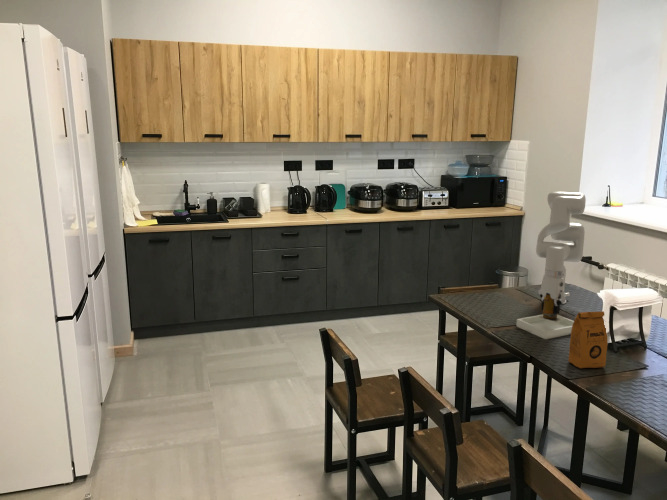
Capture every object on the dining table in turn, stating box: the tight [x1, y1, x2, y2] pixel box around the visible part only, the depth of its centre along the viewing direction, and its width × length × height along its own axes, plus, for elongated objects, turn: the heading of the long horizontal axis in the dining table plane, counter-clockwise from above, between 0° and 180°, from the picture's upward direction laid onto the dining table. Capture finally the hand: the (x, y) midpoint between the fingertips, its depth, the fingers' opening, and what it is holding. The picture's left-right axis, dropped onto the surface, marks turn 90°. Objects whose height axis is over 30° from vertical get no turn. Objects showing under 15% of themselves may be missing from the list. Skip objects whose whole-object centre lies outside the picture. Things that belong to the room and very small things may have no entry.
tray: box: [515, 313, 574, 340], centre depth 260 cm, size 22×18×4 cm
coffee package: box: [568, 311, 609, 369], centre depth 219 cm, size 10×12×22 cm
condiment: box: [540, 293, 564, 322], centre depth 257 cm, size 7×8×12 cm
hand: (550, 311), depth 259 cm, fingers closed on condiment, 6 cm apart
